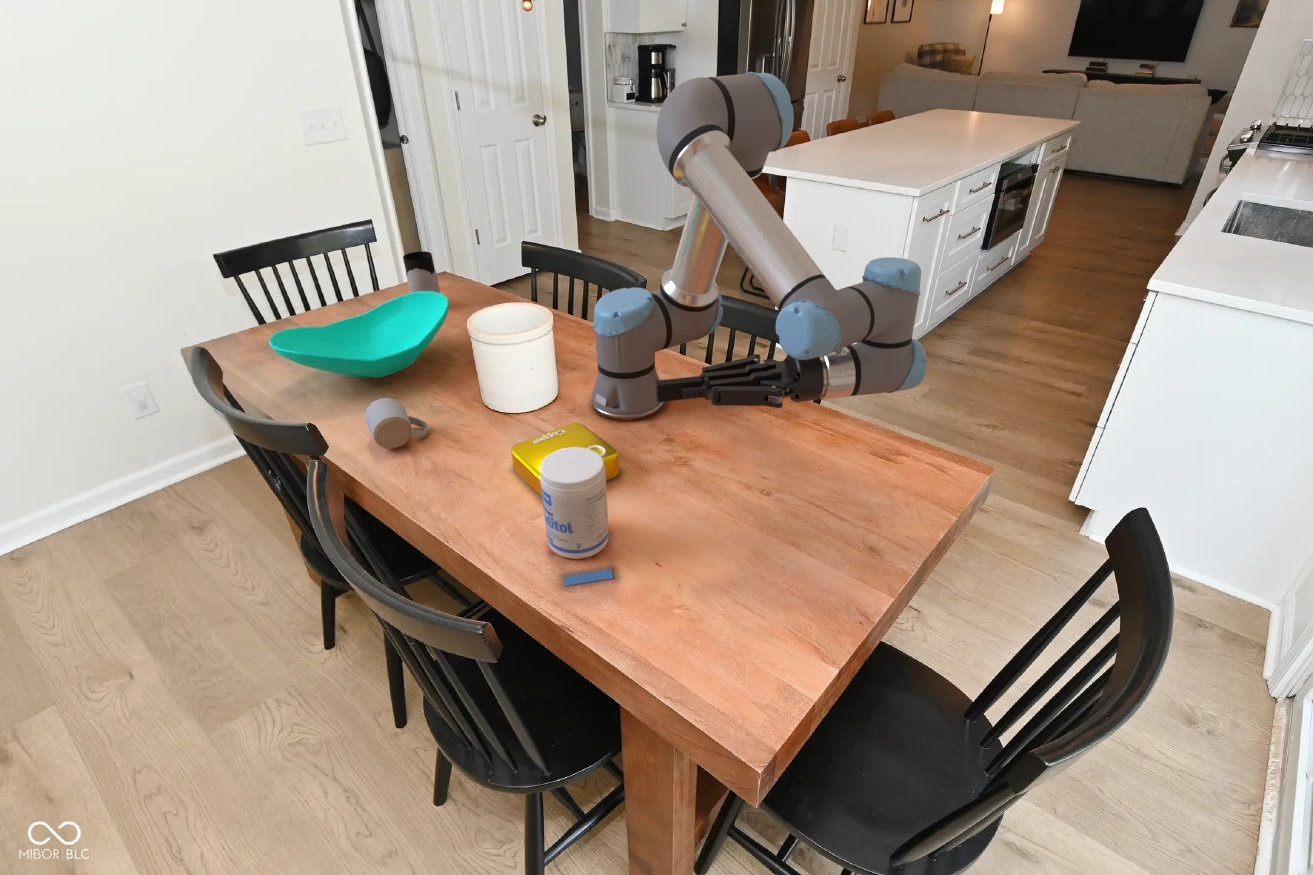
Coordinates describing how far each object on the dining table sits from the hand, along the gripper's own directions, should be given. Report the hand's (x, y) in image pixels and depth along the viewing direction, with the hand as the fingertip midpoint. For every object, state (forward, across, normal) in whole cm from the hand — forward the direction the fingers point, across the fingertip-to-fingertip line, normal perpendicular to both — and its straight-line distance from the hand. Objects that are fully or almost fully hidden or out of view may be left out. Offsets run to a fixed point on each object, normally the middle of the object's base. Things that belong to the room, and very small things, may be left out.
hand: (657, 391), depth 97 cm
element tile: (+15, -18, +24) cm, 33 cm away
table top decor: (+57, -67, +22) cm, 90 cm away
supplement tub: (+14, +2, +24) cm, 28 cm away
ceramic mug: (+47, -35, +23) cm, 63 cm away
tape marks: (+13, +2, +24) cm, 27 cm away
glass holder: (+50, -108, +22) cm, 121 cm away
